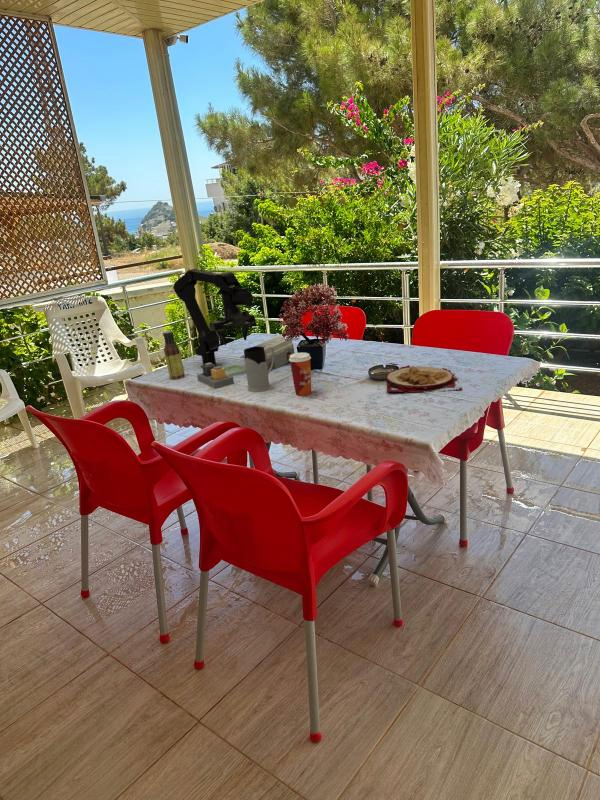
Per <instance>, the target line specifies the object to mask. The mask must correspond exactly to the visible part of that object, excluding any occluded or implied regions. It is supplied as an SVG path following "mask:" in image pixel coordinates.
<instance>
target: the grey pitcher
mask: <svg viewBox="0 0 600 800" xmlns="http://www.w3.org/2000/svg"><path fill="white" fill-rule="evenodd" d="M269 348H271V347H268V348H267V349H266V350H265V351H264V347H254V346H251V347H247V348H244V349H243V354H244V356H245V358H244V364H245V367H246V372H245V373H246V380H247V391H248V392H251V393H259V392H263V391H264V392H266V391H268V390H269V389H270V388H272V386H271V384H270V381H269V375H270V372H271V371H272V370H273V369H272V367H273V363H274V350H273V348H271V349H272V352H273V360H272V364H271V367H270V369H269V371H267V363H266V359H267V350H268V349H269Z"/></svg>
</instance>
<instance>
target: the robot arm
mask: <svg viewBox="0 0 600 800" xmlns="http://www.w3.org/2000/svg"><path fill="white" fill-rule="evenodd" d="M198 282H203V283H209V284H212V285H214V287H216V288H218V289H219V290H217V292H216V294H217V295H220V296H221V301H222V308H221V310H222V311H223V314H224V317H223V321H222V320H221V321H220V320H214V321H210V322H209V324H208V323H207V321H206V319H205V317H204V314H203V312H202V310H201V308H200V305H199V303H198V300H197V298H196V293H197V290H196V285H197V283H198ZM172 288H173V292H174V293H175V294H176V296H177V298H179V299H180V300H181V301H182V302H183V303H184V304H185V306H186V308H187V311H188V314H189V315H190V318H191V320H192V323H193V324H194V327H195V329H196V331H197V334H198V335H197V342H198V346H197V347H196V350H195V353H196V355H197V356H200V357H201V360H202V365H200V367H201V368H202V366H204V365H205V364H206V363H213V364H214V365H216V366H220V364H218V363H217V362H216V361H217V360H216V355H215V352H218V351H219V347H220V343H221V342H220V340H221V341H222V343H223V345H225V346H227V338H226V334H225V333H226V329H224V328H225V327H226V326H230V325H234V326H236V327H238V326H240V327H241V332H242V337H243V340H244V341H247V338H248V333H249V329H250V327H251V325H253V324H254V323H255V322H256V321H257V319H256V317H255V315H254V314H250V312H249V311H248V310H244V311H241V309H240V307H239V306H251V305H252V303H253V301H254V295H253V294H252V291H250V290H249V288H248V287H243V286H242V284H241V283H240V281H239V280H238V278H237V277H236V275H235V273H233V272H229V271H228V272H221V273H220V272H211V271H206V270H202V269H198V268H193V269H192V268H191V269H189V270H187V271H186V272H185V273H184V274H183V275H182V276H180V277H179V278H178V279H177V280H176V281H174V284H173V287H172Z"/></svg>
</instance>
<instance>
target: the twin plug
mask: <svg viewBox="0 0 600 800" xmlns="http://www.w3.org/2000/svg"><path fill="white" fill-rule="evenodd" d="M201 366H202V365H201ZM213 367H216V365H214V364H213V363H206V364H205V365H204V366H202V367H201V368H202V373H203V374H204V376H206V377H208V376H212V374H211V369H213Z"/></svg>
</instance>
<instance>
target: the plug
mask: <svg viewBox="0 0 600 800" xmlns="http://www.w3.org/2000/svg"><path fill="white" fill-rule="evenodd" d="M211 374H212V379H213V380H215V381H217V380H221V379H224V378H226V374H225V369H224V368H223V367H222V366H221V365H219V366H216V367H213V369H211Z"/></svg>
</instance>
